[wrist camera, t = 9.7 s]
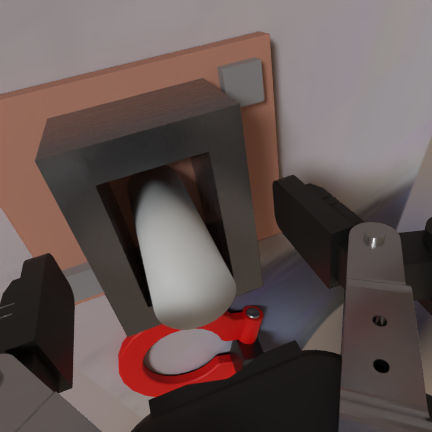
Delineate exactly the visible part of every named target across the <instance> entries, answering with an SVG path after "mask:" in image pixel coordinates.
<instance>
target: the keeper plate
mask: <svg viewBox="0 0 432 432" xmlns="http://www.w3.org/2000/svg"><path fill="white" fill-rule="evenodd" d="M201 78H204V79H205V80H206V81H208V82H209V83H211V84H212V85H214V86H215V87H217V88H218V89H219V90H221V91H222V92H224V93H225V94H227V95H228V96H229V97H231V98H232V99H234V100H235V101H237V102H238V103H240V109H241V116H242V124H243V132H244V140H245V148H246V156H247V163H248V171H249V179H250V187H251V195H252V202H253V210H254V218H255V226H256V234H257V241H259V240H262V239H265V238H268V237H270V236H273V235H276V234H279V233H282V232H281V231H280V229H279V227H278V225H277V223H276V220H275V214H274V202H273V190H272V184H273V181H275V180H278V179H279V167H278V152H277V138H276V123H275V108H274V93H273V78H272V63H271V49H270V34H268V33H264V32H255V33H251V34H247V35H243V36H239V37H235V38H230V39H226V40H222V41H218V42H214V43H210V44H206V45H202V46H198V47H193V48H189V49H185V50H181V51H177V52H173V53H169V54H165V55H160V56H156V57H152V58H148V59H144V60H140V61H136V62H132V63H128V64H123V65H119V66H115V67H111V68H107V69H103V70H99V71H95V72H91V73H86V74H82V75H78V76H74V77H70V78H66V79H62V80H58V81H53V82H49V83H45V84H41V85H37V86H33V87H29V88H25V89H21V90H16V91H12V92H8V93H4V94H0V207H1V208H2V210H3V211H4V213H5V214H6V216H7V218H8V219H9V221H10V222H11V224H12V225H13V227H14V228H15V230H16V231H17V233H18V235H19V236H20V238H21V239H22V241H23V242H24V244H25V245H26V247H27V249H28V250H29V252H30V253H31V255H32V256H33V258H34V257H37V256H40V255H44V254H47V253H50V254H51V255H52V256H53V257H54V259H55V260H56V262H57V264H58V265H59V267H60V269H61V270H62V272H63V274H64V275H65V277H66V279H67V280H68V282H69V284H70V286H71V288H72V291H73V294H74V299H75V305H76V304H79V303H82V302H85V301H88V300H91V299H93V298H96V297H99V296H102V295H105V293H104V291H103V289H102V287H101V286H100V284H99V282H98V280H97V278H96V276H95V274H94V272H93V270H92V269H91V267H90V265H89V263H88V261H87V259H86V257H85V255H84V253H83V252H82V250H81V248H80V246H79V244H78V242H77V240H76V238H75V236H74V234H73V233H72V231H71V229H70V227H69V225H68V223H67V221H66V219H65V217H64V216H63V214H62V212H61V210H60V208H59V206H58V204H57V202H56V200H55V199H54V197H53V195H52V193H51V191H50V189H49V187H48V185H47V183H46V182H45V180H44V178H43V176H42V174H41V172H40V170H39V168H38V166H37V165H36V163H35V158H36V155H37V152H38V148H39V145H40V141H41V138H42V135H43V131H44V128H45V124H46V121H47V119H48V118H51V117H55V116H59V115H63V114H67V113H71V112H74V111H78V110H82V109H86V108H90V107H93V106H97V105H101V104H105V103H109V102H113V101H116V100H120V99H124V98H128V97H132V96H136V95H139V94H143V93H147V92H151V91H155V90H158V89H162V88H166V87H170V86H174V85H178V84H181V83H185V82H189V81H193V80H197V79H201ZM109 182H110V185H111V187H112V190H113V192H114V195H115V197H116V200H117V202H118V205H119V207H120V210H121V212H122V215H123V217H124V220H125V222H126V225H127V227H128V230H129V232H130V234H131V237H132V239H133V242H134V244H135V247H138V246H140V250H141V255H142V259H143V264H144V268H145V273H146V277H147V282H148V286H149V291H150V295H151V300H152V304H153V309H154V312H155V315H156V317H157V319H158V320H159V321H160V322H161V323H162V324H164V325H165V326H167V327H170V328H173V329H179V330H188V329H195V328H199V327H202V326H205V325H207V324H209V323H211V322H213V321H215V320H216V319H218V318H219V317H220V316H222V315H223V314H224V313H225V312H226V311H227V310H228V308H229V307H230V306H231V304H232V302H233V300H234V298H235V294H236V284H235V281H234V279H233V277H232V275H231V273H230V272H229V270H228V268H227V266H226V264H225V262H224V260H223V258H222V256H221V254H220V253H219V251H218V249H217V247H216V245H215V243H214V241H213V239H212V237H211V236H210V234H209V232H208V230H207V228H206V226H205V224H206V223H205V219H204V214H203V210H202V206H201V201H200V197H199V193H198V189H197V184H196V180H195V176H194V171H193V167H192V163H191V159H190V157H189V158H186V159H182V160H179V161H176V162H172V163H169V164H166V165H162V166H159V167H156V168H152V169H149V170H146V171H142V172H139V173H136V174H132V175H129V176H126V177H122V178H119V179H116V180H112V181H109Z"/></svg>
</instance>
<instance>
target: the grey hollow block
mask: <svg viewBox="0 0 432 432" xmlns="http://www.w3.org/2000/svg"><path fill="white" fill-rule="evenodd" d="M189 157H190V159H191V163H192V167H193V171H194V176H195V180H196V184H197V189H198V193H199V197H200V201H201V206H202V210H203V214H204V219H205V223H206V224H205V226H206V228H207V230H208V232H209V234H210V236H211V237H212V239H213V241H214V243H215V245H216V247H217V249H218V251H219V253H220V254H221V256H222V258H223V260H224V262H225V264H226V266H227V268H228V270H229V272H230V273H231V275H232V277H233V279H234V281H235V284H236V294H235V297H236V296H238V295H241V294H244V293H246V292H249V291H252V290H254V289H257V288H260V287H262V286H263V281H262V273H261V265H260V257H259V249H258V242H257V234H256V226H255V218H254V210H253V202H252V195H251V187H250V179H249V171H248V163H247V156H246V148H245V140H244V132H243V124H242V116H241V109H240V103H238V102H237V101H235V100H234V99H232V98H231V97H229V96H228V95H227V94H225V93H224V92H222V91H221V90H219V89H218V88H217V87H215V86H214V85H212V84H211V83H209V82H208V81H206V80H205V79H204V78H201V79H197V80H193V81H189V82H185V83H181V84H178V85H174V86H170V87H166V88H162V89H158V90H155V91H151V92H147V93H143V94H139V95H136V96H132V97H128V98H124V99H120V100H116V101H113V102H109V103H105V104H101V105H97V106H93V107H90V108H86V109H82V110H78V111H74V112H71V113H67V114H63V115H59V116H55V117H51V118H48V119H47V121H46V124H45V128H44V131H43V135H42V138H41V141H40V145H39V148H38V152H37V155H36V158H35V163H36V165H37V166H38V168H39V170H40V172H41V174H42V176H43V178H44V180H45V182H46V183H47V185H48V187H49V189H50V191H51V193H52V195H53V197H54V199H55V200H56V202H57V204H58V206H59V208H60V210H61V212H62V214H63V216H64V217H65V219H66V221H67V223H68V225H69V227H70V229H71V231H72V233H73V234H74V236H75V238H76V240H77V242H78V244H79V246H80V248H81V250H82V252H83V253H84V255H85V257H86V259H87V261H88V263H89V265H90V267H91V269H92V270H93V272H94V274H95V276H96V278H97V280H98V282H99V284H100V286H101V287H102V289H103V291H104V293H105V295H106V297H107V299H108V301H109V303H110V304H111V306H112V308H113V310H114V312H115V314H116V316H117V318H118V320H119V322H120V323H121V325H122V327H123V329H124V331H125V333H126V335H127V337H129V336H132V335H135V334H137V333H140V332H143V331H145V330H148V329H151V328H153V327H156V326H159V325H161V324H162V323H161V322H160V321H159V320H158V319H157V317H156V315H155V312H154V309H153V304H152V300H151V295H150V291H149V286H148V282H147V277H146V273H145V268H144V264H143V259H142V255H141V250H140V246H138V247H135V244H134V242H133V239H132V237H131V234H130V232H129V230H128V227H127V225H126V222H125V220H124V217H123V215H122V212H121V210H120V207H119V205H118V202H117V200H116V197H115V195H114V192H113V190H112V187H111V185H110V182H109V181H112V180H116V179H119V178H122V177H126V176H129V175H132V174H136V173H139V172H142V171H146V170H149V169H152V168H156V167H159V166H162V165H166V164H169V163H172V162H176V161H179V160H182V159H186V158H189Z"/></svg>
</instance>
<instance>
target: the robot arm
mask: <svg viewBox="0 0 432 432" xmlns="http://www.w3.org/2000/svg"><path fill="white" fill-rule="evenodd" d="M272 190H273V202H274V214H275V220H276V223H277V225H278V227H279V229H280V231H281V232H282V233H283V234H284V235H285V237H286V238H287V239H288V240H289V241H290V243H291V244H292V245H293V246H294V247H295V249H296V250H297V251H298V252H299V253H300V255H301V256H302V257H303V258H304V259H305V261H306V262H307V263H308V264H309V265H310V267H311V268H312V269H313V270H314V271H315V273H316V274H317V275H318V276H319V277H320V279H321V280H322V281H323V282H324V283H325V285H326V286H327V287H328V288H329V289H331V288H333V287H336V286H338V285H341V286H342V287H343V288H344V289H345V293H344V309H343V324H342V325H343V326H342V341H341V355H339V354H336V353H333V352H328V351H320V350H304V351H301V349H300V347H299V346H298V344H297V342H296V341H295V340H294V341H292V342H290V343H287V344H285V345H282V346H280V347H277V348H275V349H272V350H270V351H268V352H265V353H263V354H261V355H259V356H258V357H257V358H255V359H254V360H253V361H251V362H250V363H249V364H247V365H246V366H245V367H243V368H242V369H240V370H239V371H238V372H236V373H235V374H234V375H232V376H231V377H229V378H227V379H222V380H215V381H208V382H202V383H195V384H188V385H184V386H182V387H180V388H177V389H175V390H172V391H170V392H167V393H165V394H162V395H160V396H158V397H155V398H153V399H150V400H149V407H150V414H149V415H148V416H146V417H145V418H144V419H143V420H142V421H141V422H140V423H139V424H137V425H136V427H135V428H134V429H133V430H132V431H131V432H432V396H431V395H428V394H426V392H425V385H424V377H423V369H422V361H421V353H420V346H419V339H418V330H417V323H416V315H415V307H414V300H417V301H418V302H419V303H420V304H421V305H422V306H423V307H424V308H425V309H426V310H427V311H428V312H429V313H430V314H431V315H432V217H431V218H430V219H428V221H427V223H426V226H425V230H423V231H413V232H405V233H398V232H397V231H396V230H395V229H393V228H392V227H390V226H388V225H385V224H382V223H376V222H364V221H363V220H362V219H361V218H359V217H358V216H357V215H356V214H354V213H353V212H352V211H351V210H349V209H348V208H347V207H346V206H344V205H343V204H342V203H339V201H338V200H337V199H336V198H335V197H332V195H331V194H330V193H328V192H327V191H326V190H325V189H323V188H322V187H319V186H316V185H313V184H311V183H309V184H306V185H305V184H304V183H303V182H301V181H300V180H299V179H298V178H297V177H296V176H294V175H291V176H288V177H285V178H281V179H278V180H275V181H273V184H272ZM74 312H75V299H74V294H73V291H72V288H71V286H70V284H69V282H68V280H67V279H66V277H65V275H64V274H63V272H62V270H61V269H60V267H59V265H58V264H57V262H56V260H55V259H54V257H53V256H52V255H51V254H50V253H47V254H44V255H40V256H37V257H34V258H31V259H28V260H25V261H24V263H23V268H22V272H21V277H20V278H19V279H16V280H13V281H12V282H11V283H10V285H9V286H8V288H7V289H6V290H5V292H4V293H3V295H2V299H1V303H0V432H102V431H100V430H99V429H98V428H97V427H96V426H95V425H94V424H93V423H91V422H90V421H89V420H88V419H87V418H86V417H85V416H84V415H82V414H81V413H80V412H79V411H78V410H77V409H76V408H74V407H73V406H72V405H71V404H70V403H69V402H68V401H67V400H65V399H64V398H63V397H62V396H61V395H60V394H59V393H60V392H63V391H66V390H68V389H71V388H72V384H73V382H72V381H73V348H74Z"/></svg>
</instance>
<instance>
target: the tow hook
mask: <svg viewBox="0 0 432 432" xmlns="http://www.w3.org/2000/svg"><path fill="white" fill-rule="evenodd" d="M262 318H263V312H262V311H261V310H260V309H259V308H258V307H256V306H246V307H244V309H243V311H242V312H238V313H229V312H228V311H226V312H225V313H224V314H223V315H222V316H220V317H219V318H218V319H216V320H215V321H213V322H211V323H209V324H207V325H205V326H202V327H199V328H196V329H205V330H209V331H212V332H214V333H215V334H217V335H218V336H219V337H220V338H221V339H222V340H223V341H231V340H233V342H232V346H231V350H230V354H229V355H221V356H216V357H215V358H213V360H212V361H210V362H209V363H208V364H206V365H205V366H204V367H202V368H200V369H198V370H196V371H193V372H190V373H187V374H184V375H178V376H163V375H158V374H155V373H153V372H151V371H150V370H149V369H147V368H146V367H145V365H144V363H143V359H144V357H145V354H146V352H147V351H148V350H149V349H150V347H151V346H152V345H153V344H154V343H156V342H157V341H158V340H160V339H161V338H163V337H165V336H167V335H169V334H171V333H174V332H177V331H180V330H179V329H173V328H170V327H167V326H165V325H164V324H161V325H159V326H156V327H153V328H151V329H148V330H145V331H143V332H140V333H137V334H135V335H132V336H129V337H126V339H125V340H124V341H123V343H122V346H121V349H120V351H119V354H118V359H119V374H120V376H121V378H122V380H123V382H124V383H125V384H126V385H127V386H128V387H129V388H131V389H132V390H133V391H136V392H138V393H140V394H143V395H146V396H152V397H158V396H160V395H162V394H165V393H167V392H170V391H172V390H175V389H177V388H180V387H182V386H184V385H188V384H195V383H202V382H208V381H215V380H222V379H227V378H229V377H231V376H232V375H234V374H235V373H236V372H238V371H239V370H240V369H242V368H243V367H245V366H246V365H247V364H249V363H250V362H251V361H253V360H254V359H255V358H257V357H258V356H259V355H261V354H263V353H264V352H263V349H262V347H261V345H260V343H259V341H258V338H257V335H258V331H259V328H260V325H261V322H262Z"/></svg>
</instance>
